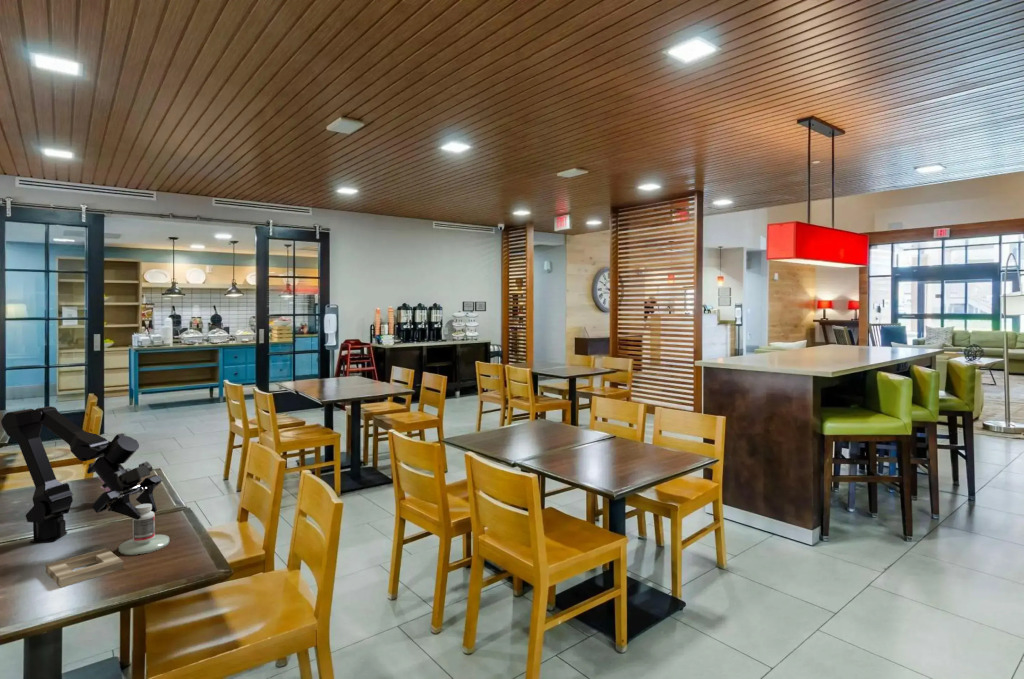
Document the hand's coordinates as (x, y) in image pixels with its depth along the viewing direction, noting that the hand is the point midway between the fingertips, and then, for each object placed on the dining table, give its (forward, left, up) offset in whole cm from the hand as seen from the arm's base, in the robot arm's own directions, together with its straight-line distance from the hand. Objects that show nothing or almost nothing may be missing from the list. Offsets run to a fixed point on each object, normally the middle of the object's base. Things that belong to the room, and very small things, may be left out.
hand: (147, 515), depth 157 cm
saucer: (-1, 0, -9) cm, 9 cm away
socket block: (-9, -14, -9) cm, 19 cm away
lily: (-29, +43, -9) cm, 53 cm away
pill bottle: (-1, 0, -7) cm, 8 cm away
